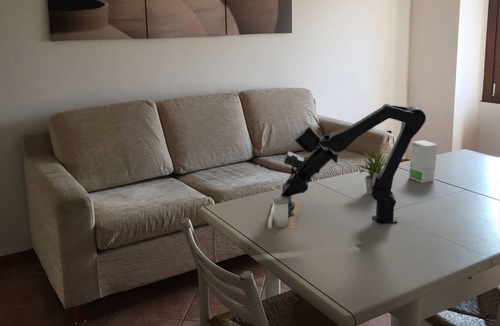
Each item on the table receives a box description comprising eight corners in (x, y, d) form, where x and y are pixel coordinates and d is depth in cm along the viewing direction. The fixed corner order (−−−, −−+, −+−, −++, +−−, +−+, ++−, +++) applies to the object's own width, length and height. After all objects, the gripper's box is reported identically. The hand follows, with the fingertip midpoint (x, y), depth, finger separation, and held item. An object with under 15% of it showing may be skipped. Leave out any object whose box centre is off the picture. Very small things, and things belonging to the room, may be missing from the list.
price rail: (277, 204, 198) (277, 196, 197) (271, 231, 174) (271, 222, 174) (274, 204, 198) (274, 196, 198) (267, 231, 175) (267, 222, 174)
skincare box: (408, 178, 225) (410, 141, 221) (420, 175, 228) (423, 139, 224) (422, 183, 218) (425, 145, 214) (435, 181, 221) (438, 143, 216)
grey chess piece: (284, 209, 189) (284, 177, 186) (298, 213, 186) (298, 180, 182) (274, 214, 185) (274, 181, 182) (288, 218, 181) (288, 184, 178)
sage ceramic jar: (290, 226, 175) (290, 200, 172) (275, 228, 174) (275, 201, 171) (286, 221, 179) (286, 195, 177) (272, 222, 178) (271, 196, 176)
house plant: (362, 184, 219) (362, 144, 214) (396, 188, 212) (398, 148, 208) (349, 195, 207) (350, 153, 202) (386, 200, 200) (387, 157, 196)
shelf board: (300, 205, 197) (300, 202, 197) (296, 232, 173) (296, 228, 173) (275, 204, 198) (275, 201, 198) (268, 231, 174) (268, 228, 174)
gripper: (299, 138, 187) (268, 168, 192) (297, 151, 169) (262, 184, 174) (322, 160, 188) (290, 190, 193) (322, 176, 170) (287, 208, 175)
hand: (282, 192), depth 183 cm, fingers open, 9 cm apart
